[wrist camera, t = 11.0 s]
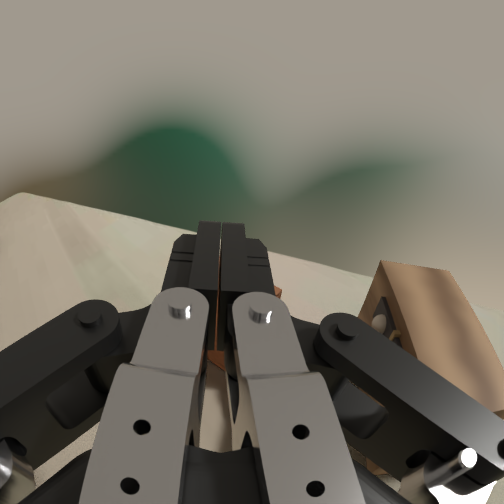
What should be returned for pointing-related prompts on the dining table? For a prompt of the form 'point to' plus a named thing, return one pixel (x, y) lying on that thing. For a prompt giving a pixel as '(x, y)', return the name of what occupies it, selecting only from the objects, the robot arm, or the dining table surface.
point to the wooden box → (434, 330)
